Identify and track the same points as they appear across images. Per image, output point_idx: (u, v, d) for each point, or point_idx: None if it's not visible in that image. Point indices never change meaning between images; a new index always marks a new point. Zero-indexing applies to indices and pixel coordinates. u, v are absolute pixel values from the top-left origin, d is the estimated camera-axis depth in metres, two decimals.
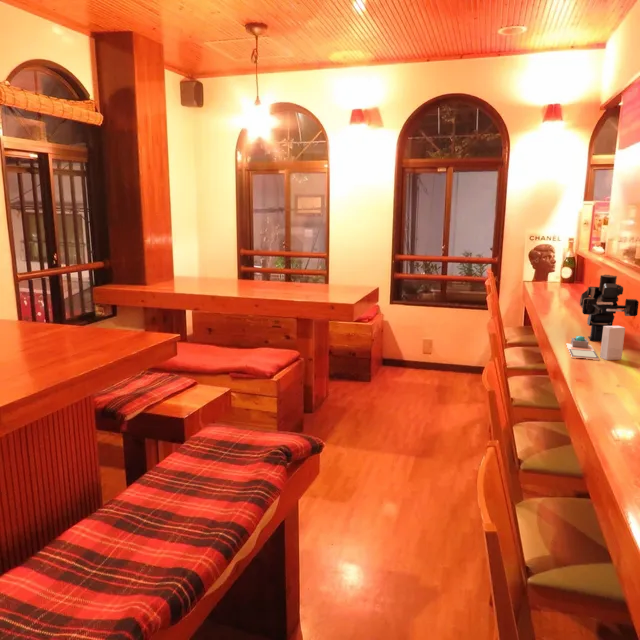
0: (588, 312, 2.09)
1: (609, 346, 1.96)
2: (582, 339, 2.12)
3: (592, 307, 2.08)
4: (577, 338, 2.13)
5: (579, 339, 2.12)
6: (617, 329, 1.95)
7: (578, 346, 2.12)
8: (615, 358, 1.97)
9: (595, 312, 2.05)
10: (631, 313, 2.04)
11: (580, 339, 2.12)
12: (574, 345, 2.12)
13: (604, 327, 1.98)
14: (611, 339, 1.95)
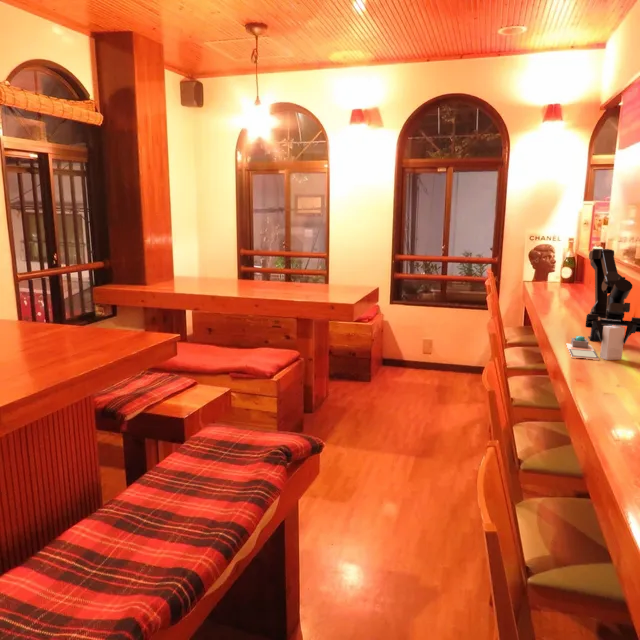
0: (593, 328, 2.04)
1: (609, 346, 1.96)
2: (582, 339, 2.12)
3: None
4: (577, 338, 2.13)
5: (579, 339, 2.12)
6: (617, 329, 1.95)
7: (578, 346, 2.12)
8: (615, 358, 1.97)
9: (598, 335, 2.01)
10: (632, 331, 1.98)
11: (580, 339, 2.12)
12: (574, 345, 2.12)
13: (604, 327, 1.98)
14: (611, 339, 1.95)
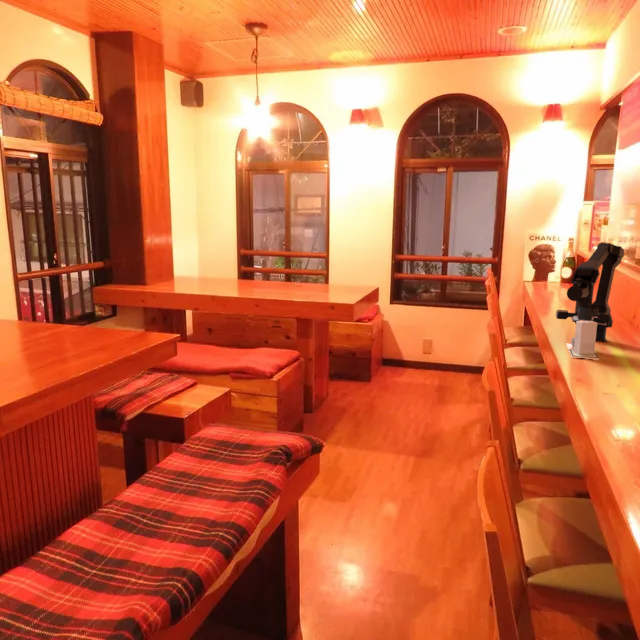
0: None
1: (582, 341, 2.00)
2: None
3: None
4: None
5: None
6: (589, 324, 1.99)
7: None
8: (588, 353, 2.01)
9: None
10: None
11: None
12: None
13: (577, 322, 2.01)
14: (583, 334, 1.99)
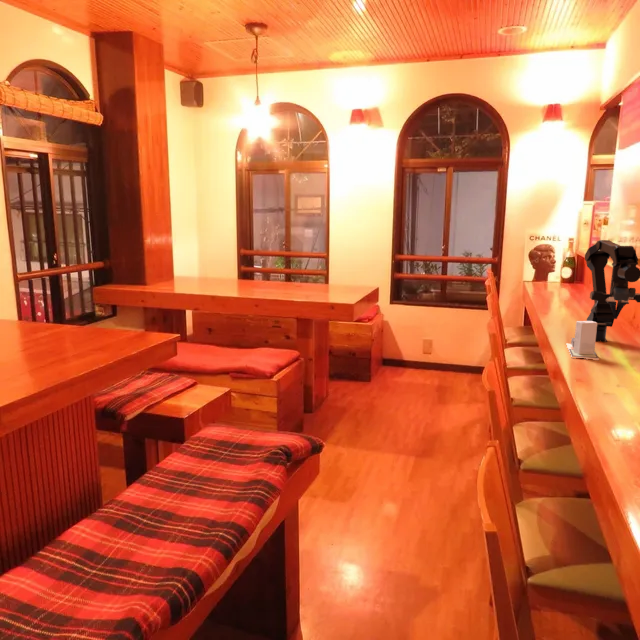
0: (607, 301, 2.12)
1: (582, 341, 2.00)
2: None
3: None
4: None
5: None
6: (589, 324, 1.99)
7: None
8: (588, 353, 2.01)
9: (612, 311, 2.12)
10: None
11: None
12: None
13: (577, 322, 2.01)
14: (583, 334, 1.99)
